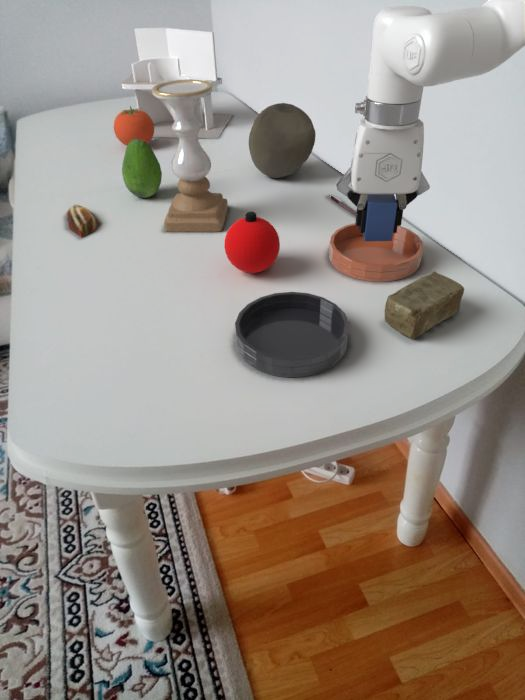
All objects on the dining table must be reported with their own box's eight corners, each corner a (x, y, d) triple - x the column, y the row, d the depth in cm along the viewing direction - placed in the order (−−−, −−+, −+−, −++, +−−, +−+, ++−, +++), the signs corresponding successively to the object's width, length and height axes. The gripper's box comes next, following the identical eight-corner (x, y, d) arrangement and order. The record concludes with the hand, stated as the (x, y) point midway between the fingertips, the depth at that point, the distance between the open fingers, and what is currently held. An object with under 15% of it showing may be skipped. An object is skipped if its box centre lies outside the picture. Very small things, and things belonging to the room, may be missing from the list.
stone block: (379, 324, 74) (383, 295, 71) (429, 295, 79) (435, 266, 76) (412, 344, 70) (418, 314, 67) (462, 311, 76) (469, 282, 73)
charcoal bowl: (369, 340, 71) (372, 323, 69) (291, 395, 64) (291, 377, 62) (291, 296, 80) (291, 280, 78) (214, 340, 72) (212, 323, 70)
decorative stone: (56, 211, 107) (54, 203, 105) (83, 205, 109) (81, 197, 108) (76, 239, 97) (74, 230, 96) (105, 231, 99) (103, 222, 98)
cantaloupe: (266, 192, 111) (264, 118, 101) (241, 170, 121) (237, 101, 111) (324, 180, 115) (327, 108, 106) (295, 160, 125) (296, 93, 116)
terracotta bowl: (438, 257, 88) (441, 241, 86) (382, 292, 80) (385, 276, 78) (367, 228, 97) (368, 213, 95) (311, 258, 89) (311, 242, 87)
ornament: (290, 265, 87) (291, 209, 81) (257, 289, 82) (255, 231, 76) (249, 250, 92) (246, 196, 85) (215, 272, 86) (209, 216, 80)
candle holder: (228, 207, 106) (218, 77, 91) (221, 231, 97) (209, 94, 82) (175, 207, 107) (157, 79, 91) (164, 231, 98) (142, 95, 83)
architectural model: (118, 136, 143) (99, 39, 128) (142, 114, 159) (127, 25, 144) (218, 138, 140) (209, 38, 125) (232, 115, 156) (226, 24, 141)
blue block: (387, 228, 87) (393, 191, 83) (391, 241, 84) (397, 203, 80) (361, 228, 88) (365, 191, 84) (364, 241, 84) (368, 203, 80)
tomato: (111, 146, 137) (102, 105, 131) (146, 137, 142) (139, 98, 135) (128, 156, 131) (119, 114, 124) (164, 147, 135) (157, 106, 129)
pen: (327, 197, 108) (327, 193, 108) (330, 197, 109) (331, 192, 108) (357, 218, 100) (358, 214, 100) (361, 217, 101) (361, 213, 100)
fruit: (156, 204, 108) (146, 146, 100) (121, 202, 109) (108, 144, 102) (170, 189, 114) (161, 133, 106) (136, 187, 115) (125, 131, 107)
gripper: (334, 120, 71) (326, 240, 83) (459, 118, 70) (434, 240, 82) (330, 105, 77) (324, 219, 88) (446, 103, 76) (424, 218, 88)
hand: (377, 228), depth 85 cm, fingers closed on blue block, 4 cm apart
